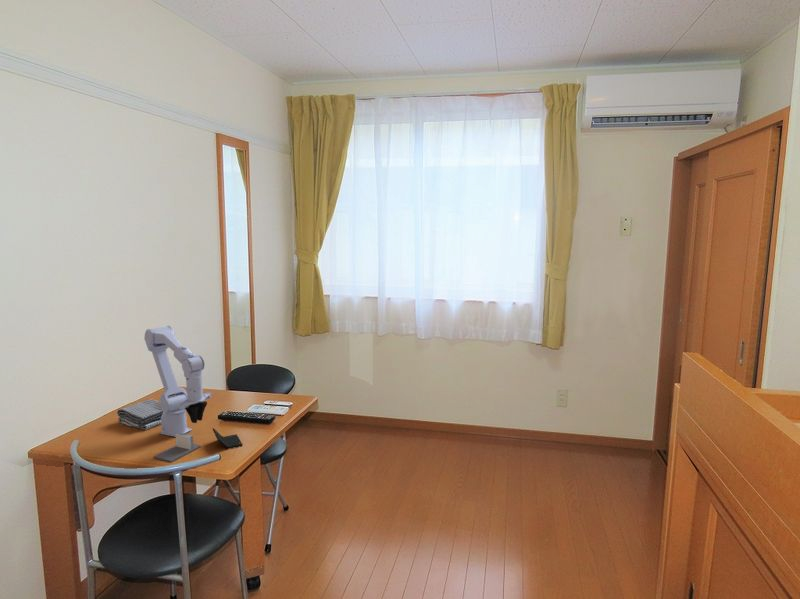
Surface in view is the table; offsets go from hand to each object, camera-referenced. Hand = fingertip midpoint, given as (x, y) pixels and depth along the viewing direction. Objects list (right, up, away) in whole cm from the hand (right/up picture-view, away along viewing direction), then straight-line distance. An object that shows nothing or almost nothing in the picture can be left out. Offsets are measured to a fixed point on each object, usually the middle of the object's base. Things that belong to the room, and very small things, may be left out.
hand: (196, 421), depth 197 cm
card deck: (-3, -9, -5) cm, 10 cm away
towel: (-31, -6, +22) cm, 38 cm away
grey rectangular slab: (-4, -10, -8) cm, 13 cm away
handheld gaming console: (+12, -9, 0) cm, 15 cm away
